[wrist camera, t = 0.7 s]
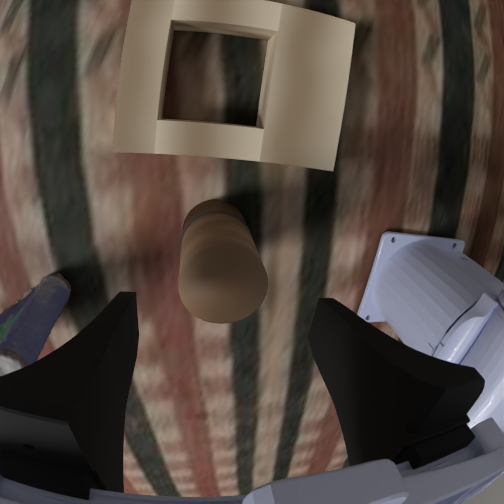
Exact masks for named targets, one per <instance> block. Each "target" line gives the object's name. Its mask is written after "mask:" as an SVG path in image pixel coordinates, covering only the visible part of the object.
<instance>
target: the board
mask: <svg viewBox="0 0 504 504" xmlns="http://www.w3.org/2000/svg"><path fill="white" fill-rule="evenodd" d="M174 30H178V31H196V32H208V33H219V34H228V35H236V36H244V37H251V38H257V39H263V40H268V45H267V52H266V59H265V66H264V73H263V79H262V86H261V93H260V100H259V108H258V115H257V122H256V126H248V125H239V124H229V123H219V122H208V121H195V120H179V119H162V118H163V108H164V99H165V91H166V82H167V75H168V67H169V60H170V54H171V47H172V41H173V35H174ZM354 32H355V23H353V22H350V21H347V20H343V19H340V18H337V17H334V16H330V15H327V14H323V13H319V12H316V11H312V10H308V9H304V8H300V7H295V6H291V5H286V4H281V3H276V2H271V1H266V0H132V3H131V8H130V13H129V18H128V23H127V28H126V34H125V40H124V46H123V52H122V59H121V66H120V74H119V82H118V91H117V100H116V111H115V124H114V139H113V152H123V153H155V154H175V155H192V156H206V157H218V158H230V159H240V160H250V161H259V162H268V163H277V164H285V165H293V166H300V167H307V168H314V169H321V170H328V171H333V170H334V164H335V159H336V153H337V148H338V142H339V136H340V131H341V125H342V118H343V112H344V106H345V99H346V93H347V86H348V79H349V72H350V65H351V57H352V49H353V41H354Z"/></svg>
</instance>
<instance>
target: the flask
mask: <svg viewBox="0 0 504 504" xmlns="http://www.w3.org/2000/svg"><path fill="white" fill-rule="evenodd" d="M67 283H68V284H67ZM68 285H69V287H68ZM70 292H71V288H70V284H69V282H68V281H67V280H66V279H65V278H64V277H63V276H62V275H61V274H51V275H48V276H46V277H44V278H43V279H41V282H40V284H39V285H37V286H36V287H34V288H33V289H32V288H31V289H30V290H28V291H26V293H24V295H23V296H24V297H22V300H21V301H19V302H18V301H17V300H16V303H15V304H14V305H13V306H9V307H8V308H6V309H4V310H3V311H2V312H1V314H0V376H3V375H5V374H8V373H11V372H14V371H16V370H19V369H21V368H23V367H25V366H28V365H30V364H32V363H34V362H36V361H37V359H38V357H39V354H40V352H41V350H42V349H43V347H44V344H45V342H46V340H47V338H48V336H49V334H50V333H51V330H52V328H53V326H54V324H55V322H56V320H57V319H58V317H59V316H60V314H61V312H62V309H63V307H64V306H65V304H66V303H67V302H68V299H69V296H70Z"/></svg>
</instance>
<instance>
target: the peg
mask: <svg viewBox="0 0 504 504" xmlns="http://www.w3.org/2000/svg"><path fill="white" fill-rule="evenodd" d="M178 287H179V295H180V298H181V301H182V302H183V304H184V306H185V307H186V308H187V309H188V311H189V312H190V313H192V314H193V315H194V316H196V317H198V318H199V319H202V320H204V321H207V322H211V323H231V322H235V321H238V320H241V319H243V318H245V317H247V316H249V315H250V314H252V313H253V312H254V311H255V310H256V309H257V308H258V307H259V306H260V305H261V303H262V302H263V300H264V298H265V296H266V293H267V289H268V278H267V273H266V271H265V268H264V266H263V263H262V261H261V259H260V256H259V254H258V251H257V249H256V246H255V244H254V242H253V238H252V235H251V232H250V230H249V228H248V226H247V225H246V222H245V220H244V218H243V216H242V214H241V212H240V211H239V210H238V209H237V208H236V207H235V206H234V205H232V204H230V203H228V202H226V201H222V200H209V201H205V202H202V203H200V204H198V205H197V206H195V207H194V208H193V209H192V210H191V211H190V212H189V213H188V215H187V217H186V219H185V221H184V226H183V235H182V238H181V258H180V271H179V285H178Z"/></svg>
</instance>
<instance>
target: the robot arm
mask: <svg viewBox="0 0 504 504" xmlns="http://www.w3.org/2000/svg"><path fill="white" fill-rule="evenodd" d="M393 237H394V239H393V240H392V241H391V239H392V238H393ZM453 244H454V245H453ZM464 247H465V242H464V241H462V240H459V239H451V238H443V237H435V236H426V235H417V234H409V233H399V232H390V231H387V232H385V233H383V235H382V237H381V240H380V243H379V247H378V250H377V254H376V257H375V260H374V264H373V267H372V270H371V274H370V277H369V280H368V283H367V286H366V289H365V292H364V295H363V298H362V301H361V304H360V307H359V310H358V313H357V314H356V313H354V312H353V311H351V310H350V309H349V308H347V307H346V306H344V305H343V304H341V303H340V302H338V301H337V300H335V299H333V298H319V300H318V304H317V308H316V311H315V315H314V318H313V322H312V325H311V329H310V332H309V336H308V339H309V343H310V347H311V350H312V354H313V357H314V360H315V362H316V364H317V367H318V369H319V371H320V373H321V376H322V378H323V380H324V382H325V384H326V387H327V389H328V391H329V393H330V395H331V398H332V400H333V403H334V405H335V408H336V412H337V415H338V418H339V422H340V425H341V429H342V433H343V437H344V440H345V445H346V449H347V454H348V459H349V464H350V467H346V468H341V469H336V470H332V471H327V472H322V473H316V474H310V475H304V476H298V477H291V478H287V479H283V480H278V481H273V482H270V483H267V484H265V485H262V486H260V487H257V488H255V489H254V490H253V491H251V492H250V493H249V494H248V495H239V496H221V497H169V496H151V495H139V494H129V493H124V484H123V444H124V424H125V411H126V404H127V399H128V394H129V389H130V385H131V380H132V376H133V371H134V367H135V362H136V358H137V349H138V340H139V329H138V316H137V302H136V292H123V291H120V292H119V293H118V294H117V295H116V296H115V297H114V298H113V299H112V301H111V302H110V303H109V304H108V305H107V306H106V307H105V308H104V309H103V310H102V311H101V312H100V313H99V314H98V315H97V316H96V317H95V318H94V319H93V320H92V321H91V322H90V323H89V324H88V325H87V326H86V327H85V328H84V329H83V330H82V331H80V332H79V333H78V334H77V335H76V336H75V337H73V338H72V339H71V340H69V341H68V342H67V343H65V344H64V345H62V346H61V347H60V348H58V349H56V350H55V351H53V352H51V353H50V354H48V355H47V356H45V357H43V358H42V359H40V360H38V361H36V362H34V363H32V364H30V365H28V366H25V367H23V368H21V369H19V370H16V371H14V372H11V373H8V374H5V375H3V376H0V449H1V450H0V504H461V503H463V502H464V501H466V500H467V499H469V498H471V497H472V496H474V495H476V494H477V493H479V492H480V491H482V490H483V489H485V488H486V487H487V486H488V485H489V484H491V483H492V482H493V481H494V480H495V479H496V478H498V477H499V476H500V475H501V474H503V473H504V284H503V283H502V282H501V281H500V280H499V279H497V278H496V277H495V276H493V275H492V274H491V273H489V272H488V271H487V270H485V269H484V268H483V267H481V266H480V265H479V264H477V263H476V262H475V261H473V260H472V259H470V258H469V257H468V256H466V255H465V254H463V250H464ZM368 315H369V316H368ZM367 316H368V317H367ZM381 321H387V322H388V324H389V325H390V326H391V327H392V329H393V330H394V331H395V332H396V334H397V335H398V336H399V338H400V339H401V340H402V342H403V343H404V344H403V343H401V342H399V341H397V340H395V339H394V338H392V337H390V336H388V335H387V334H385V333H384V332H382V331H380V330H379V329H377V328H376V327H374V326H373V325H371V324H370V323H368V322H381Z"/></svg>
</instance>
